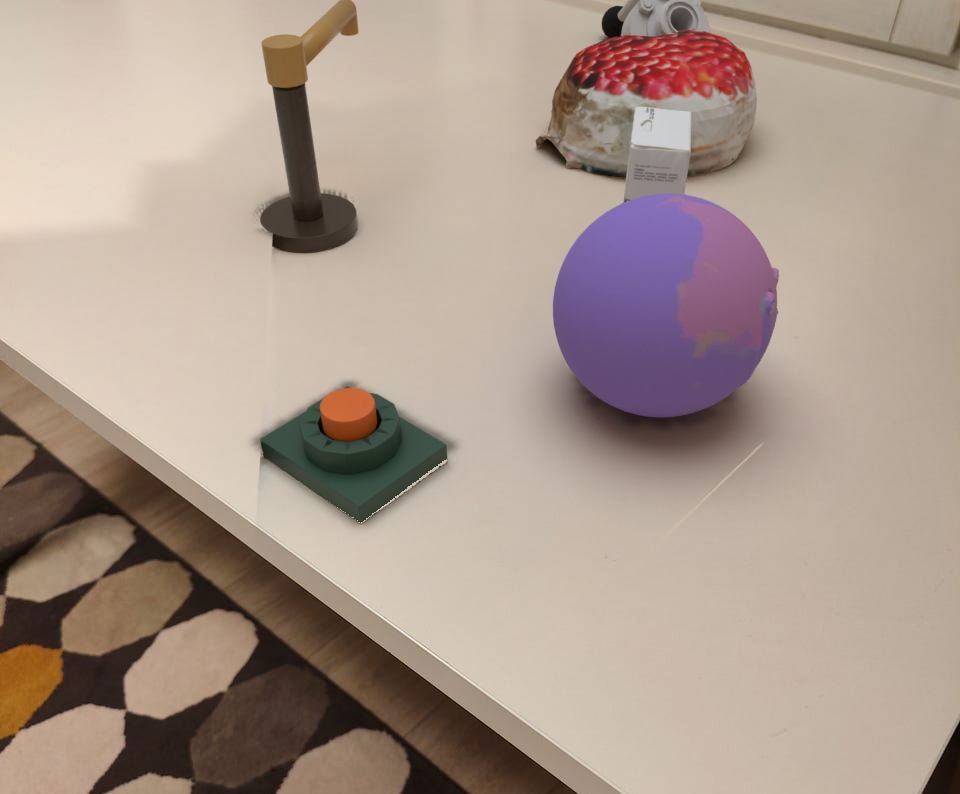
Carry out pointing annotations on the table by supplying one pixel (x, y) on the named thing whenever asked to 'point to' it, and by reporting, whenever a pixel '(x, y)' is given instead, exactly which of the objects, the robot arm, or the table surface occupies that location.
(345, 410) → the button
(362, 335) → the table surface
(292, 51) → the spout
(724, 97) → the cake
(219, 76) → the table surface
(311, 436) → the button box
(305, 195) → the faucet base
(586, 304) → the decorative ball
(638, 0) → the valve
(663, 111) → the ink box
